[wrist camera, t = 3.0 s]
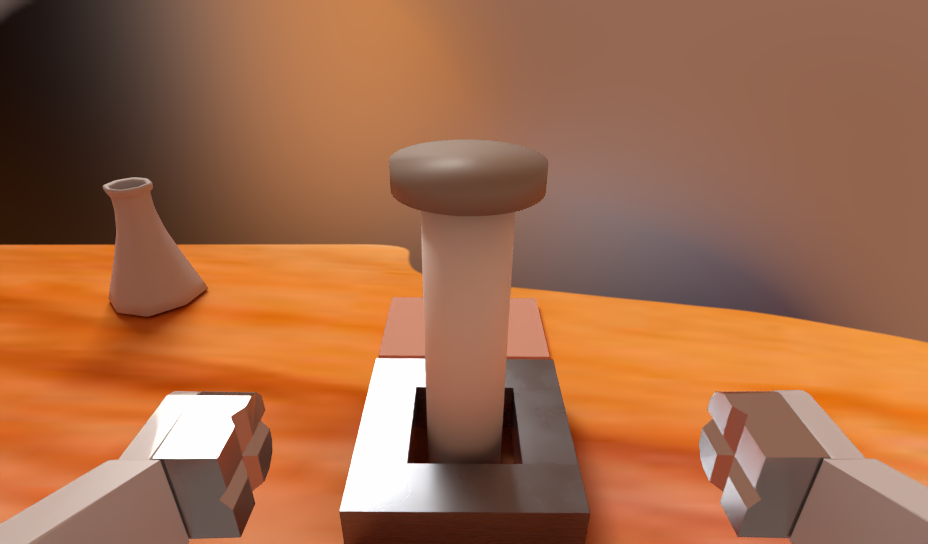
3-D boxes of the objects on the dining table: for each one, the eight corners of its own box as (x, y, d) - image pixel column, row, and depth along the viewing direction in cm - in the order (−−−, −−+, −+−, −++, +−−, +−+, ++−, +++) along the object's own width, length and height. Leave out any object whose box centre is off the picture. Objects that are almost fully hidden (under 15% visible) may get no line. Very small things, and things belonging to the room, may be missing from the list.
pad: (379, 362, 37) (378, 355, 37) (392, 303, 45) (392, 297, 44) (548, 363, 38) (549, 356, 37) (535, 304, 45) (536, 298, 44)
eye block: (346, 554, 25) (339, 511, 23) (379, 395, 34) (376, 358, 33) (582, 556, 25) (590, 512, 23) (548, 396, 34) (552, 359, 33)
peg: (400, 512, 27) (378, 183, 19) (411, 421, 32) (398, 138, 24) (527, 513, 27) (560, 185, 19) (516, 422, 32) (537, 140, 24)
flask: (224, 288, 47) (199, 178, 42) (145, 328, 41) (106, 206, 36) (172, 269, 50) (144, 165, 45) (92, 303, 44) (50, 188, 39)
